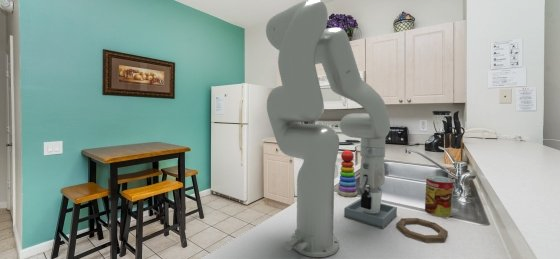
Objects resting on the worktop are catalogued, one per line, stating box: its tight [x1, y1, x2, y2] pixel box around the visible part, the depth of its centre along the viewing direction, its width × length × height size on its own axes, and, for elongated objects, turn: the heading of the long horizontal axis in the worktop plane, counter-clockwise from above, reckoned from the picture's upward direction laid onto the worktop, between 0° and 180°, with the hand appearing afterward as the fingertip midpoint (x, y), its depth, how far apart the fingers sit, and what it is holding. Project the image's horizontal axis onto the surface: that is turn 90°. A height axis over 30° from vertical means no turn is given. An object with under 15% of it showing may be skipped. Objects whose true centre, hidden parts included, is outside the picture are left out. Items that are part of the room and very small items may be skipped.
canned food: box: [424, 175, 455, 218], centre depth 85 cm, size 8×8×12 cm
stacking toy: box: [337, 149, 358, 198], centre depth 103 cm, size 8×8×19 cm
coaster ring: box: [395, 217, 449, 244], centre depth 72 cm, size 12×12×1 cm
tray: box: [343, 197, 398, 230], centre depth 82 cm, size 13×13×3 cm
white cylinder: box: [362, 185, 383, 213], centre depth 82 cm, size 7×7×7 cm
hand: (370, 204), depth 82 cm, fingers closed on white cylinder, 6 cm apart
